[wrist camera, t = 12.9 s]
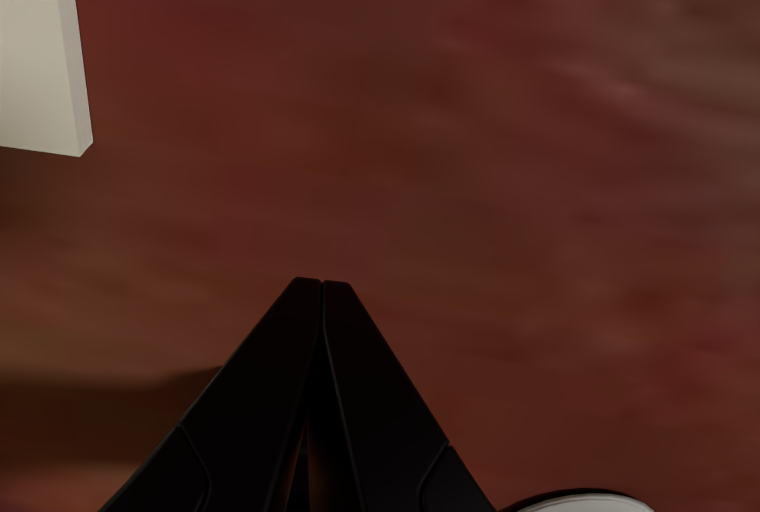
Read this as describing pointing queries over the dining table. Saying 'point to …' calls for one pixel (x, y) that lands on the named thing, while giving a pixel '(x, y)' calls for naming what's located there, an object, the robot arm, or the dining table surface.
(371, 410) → the robot arm
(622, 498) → the chalice
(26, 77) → the wall board
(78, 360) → the dining table surface
